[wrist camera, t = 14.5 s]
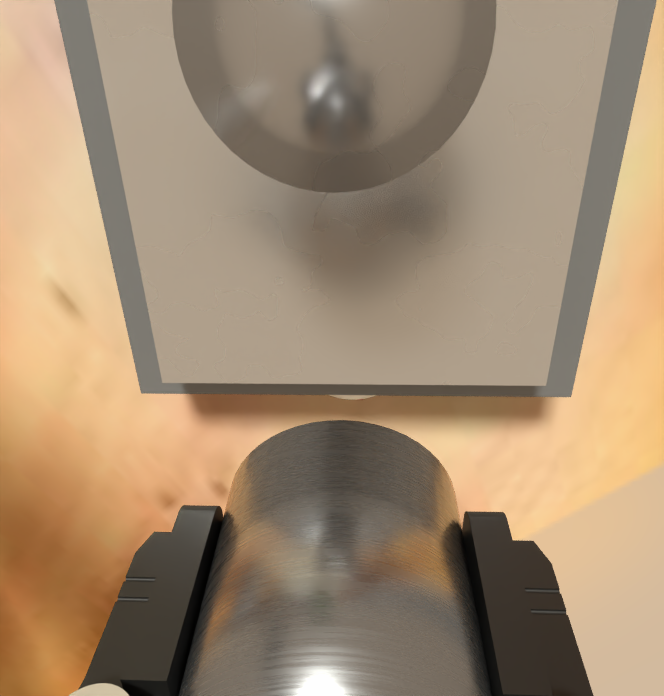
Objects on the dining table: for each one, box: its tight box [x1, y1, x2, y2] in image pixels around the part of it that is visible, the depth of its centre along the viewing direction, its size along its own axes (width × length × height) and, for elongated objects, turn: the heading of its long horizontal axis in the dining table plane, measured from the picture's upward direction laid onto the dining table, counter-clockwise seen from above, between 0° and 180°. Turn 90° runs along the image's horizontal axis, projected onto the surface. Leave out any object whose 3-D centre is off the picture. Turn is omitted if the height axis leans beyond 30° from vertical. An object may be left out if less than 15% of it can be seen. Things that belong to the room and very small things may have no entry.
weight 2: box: [179, 420, 492, 696], centre depth 10 cm, size 5×5×7 cm
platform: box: [87, 0, 618, 386], centre depth 18 cm, size 13×13×1 cm
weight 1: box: [172, 0, 497, 193], centre depth 12 cm, size 5×5×7 cm
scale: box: [54, 0, 656, 400], centre depth 20 cm, size 16×16×4 cm
